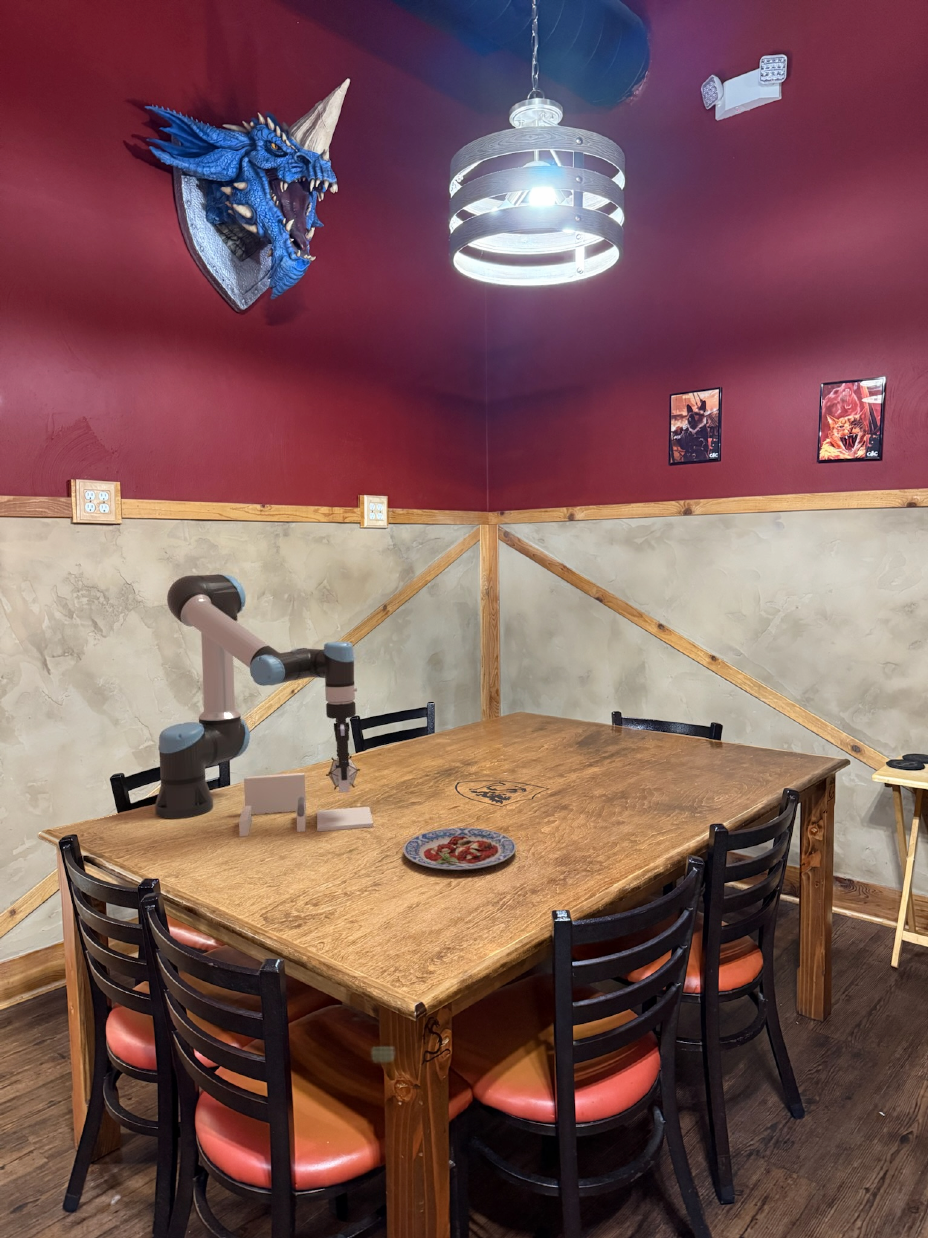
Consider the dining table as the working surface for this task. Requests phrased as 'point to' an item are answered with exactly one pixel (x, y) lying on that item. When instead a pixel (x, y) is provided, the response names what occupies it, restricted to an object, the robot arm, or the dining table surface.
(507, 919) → the dining table surface
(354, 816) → the mat
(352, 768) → the game die
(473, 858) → the ceramic plate
